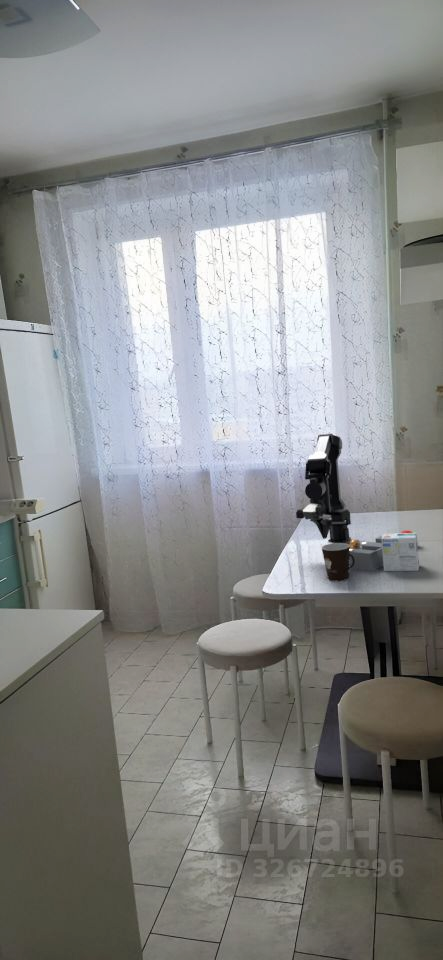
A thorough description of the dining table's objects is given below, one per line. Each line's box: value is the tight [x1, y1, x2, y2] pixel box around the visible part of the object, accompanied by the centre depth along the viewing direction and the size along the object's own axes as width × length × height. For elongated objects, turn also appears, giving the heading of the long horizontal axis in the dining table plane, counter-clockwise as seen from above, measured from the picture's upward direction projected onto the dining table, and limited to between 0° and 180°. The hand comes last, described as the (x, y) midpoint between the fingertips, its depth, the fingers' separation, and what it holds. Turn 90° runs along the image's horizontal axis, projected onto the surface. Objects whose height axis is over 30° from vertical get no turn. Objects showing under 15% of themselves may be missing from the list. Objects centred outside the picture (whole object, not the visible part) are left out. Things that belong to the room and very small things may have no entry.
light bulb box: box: [381, 532, 420, 572], centre depth 200 cm, size 11×7×11 cm, turn 71°
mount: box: [349, 535, 383, 572], centre depth 211 cm, size 8×21×6 cm, turn 137°
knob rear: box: [349, 539, 369, 549], centre depth 219 cm, size 9×4×4 cm, turn 47°
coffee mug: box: [321, 542, 355, 582], centre depth 196 cm, size 12×9×10 cm
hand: (324, 538), depth 219 cm, fingers closed
